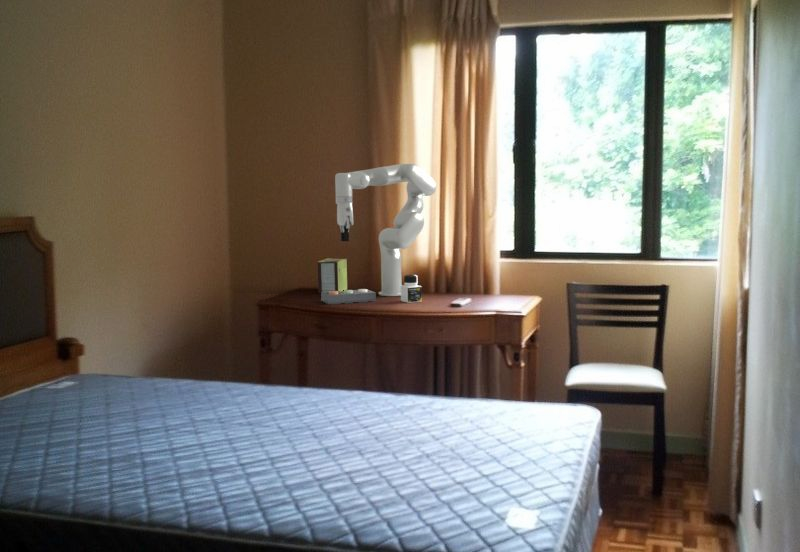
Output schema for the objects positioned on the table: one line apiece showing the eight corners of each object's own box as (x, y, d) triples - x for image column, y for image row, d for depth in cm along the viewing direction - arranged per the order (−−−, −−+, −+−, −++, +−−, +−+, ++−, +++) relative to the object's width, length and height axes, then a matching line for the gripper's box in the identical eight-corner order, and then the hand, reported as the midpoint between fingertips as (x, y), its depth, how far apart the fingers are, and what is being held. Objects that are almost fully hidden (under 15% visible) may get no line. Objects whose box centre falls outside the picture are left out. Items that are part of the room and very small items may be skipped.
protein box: (347, 289, 434) (346, 258, 432) (338, 293, 419) (337, 261, 417) (327, 289, 437) (326, 258, 435) (317, 293, 422) (316, 261, 420)
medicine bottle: (408, 303, 385) (407, 276, 383) (400, 301, 391) (400, 274, 390) (422, 301, 388) (421, 275, 387) (414, 299, 394) (414, 273, 393)
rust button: (336, 297, 393) (336, 290, 393) (339, 298, 389) (339, 291, 389) (327, 298, 392) (327, 291, 391) (330, 299, 388) (330, 292, 387)
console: (366, 297, 403) (366, 289, 402) (375, 301, 392) (375, 292, 391) (321, 301, 395) (321, 292, 394) (329, 304, 384) (329, 295, 383)
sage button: (351, 296, 396) (351, 289, 395) (354, 297, 392) (354, 290, 391) (342, 297, 394) (342, 290, 394) (345, 298, 390) (345, 291, 390)
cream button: (365, 295, 398) (365, 288, 398) (369, 296, 394) (369, 289, 394) (356, 296, 397) (356, 289, 396) (360, 297, 393) (359, 290, 392)
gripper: (357, 200, 385) (358, 241, 387) (346, 199, 399) (347, 239, 401) (341, 201, 382) (342, 242, 385) (331, 200, 396) (332, 240, 398)
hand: (345, 241), depth 393 cm, fingers closed
